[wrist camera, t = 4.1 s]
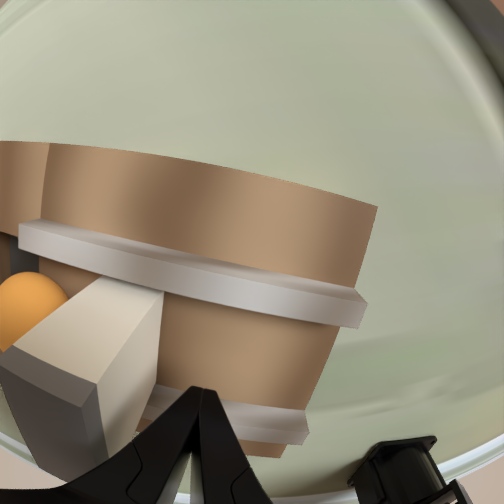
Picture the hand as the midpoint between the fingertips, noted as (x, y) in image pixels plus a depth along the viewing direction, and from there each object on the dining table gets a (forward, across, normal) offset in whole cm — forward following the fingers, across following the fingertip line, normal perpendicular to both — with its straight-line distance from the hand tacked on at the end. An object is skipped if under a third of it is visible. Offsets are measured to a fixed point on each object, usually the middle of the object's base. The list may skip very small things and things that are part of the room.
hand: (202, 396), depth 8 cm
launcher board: (+6, +5, 0) cm, 8 cm away
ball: (+1, +8, 0) cm, 8 cm away
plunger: (+3, +3, 0) cm, 4 cm away
